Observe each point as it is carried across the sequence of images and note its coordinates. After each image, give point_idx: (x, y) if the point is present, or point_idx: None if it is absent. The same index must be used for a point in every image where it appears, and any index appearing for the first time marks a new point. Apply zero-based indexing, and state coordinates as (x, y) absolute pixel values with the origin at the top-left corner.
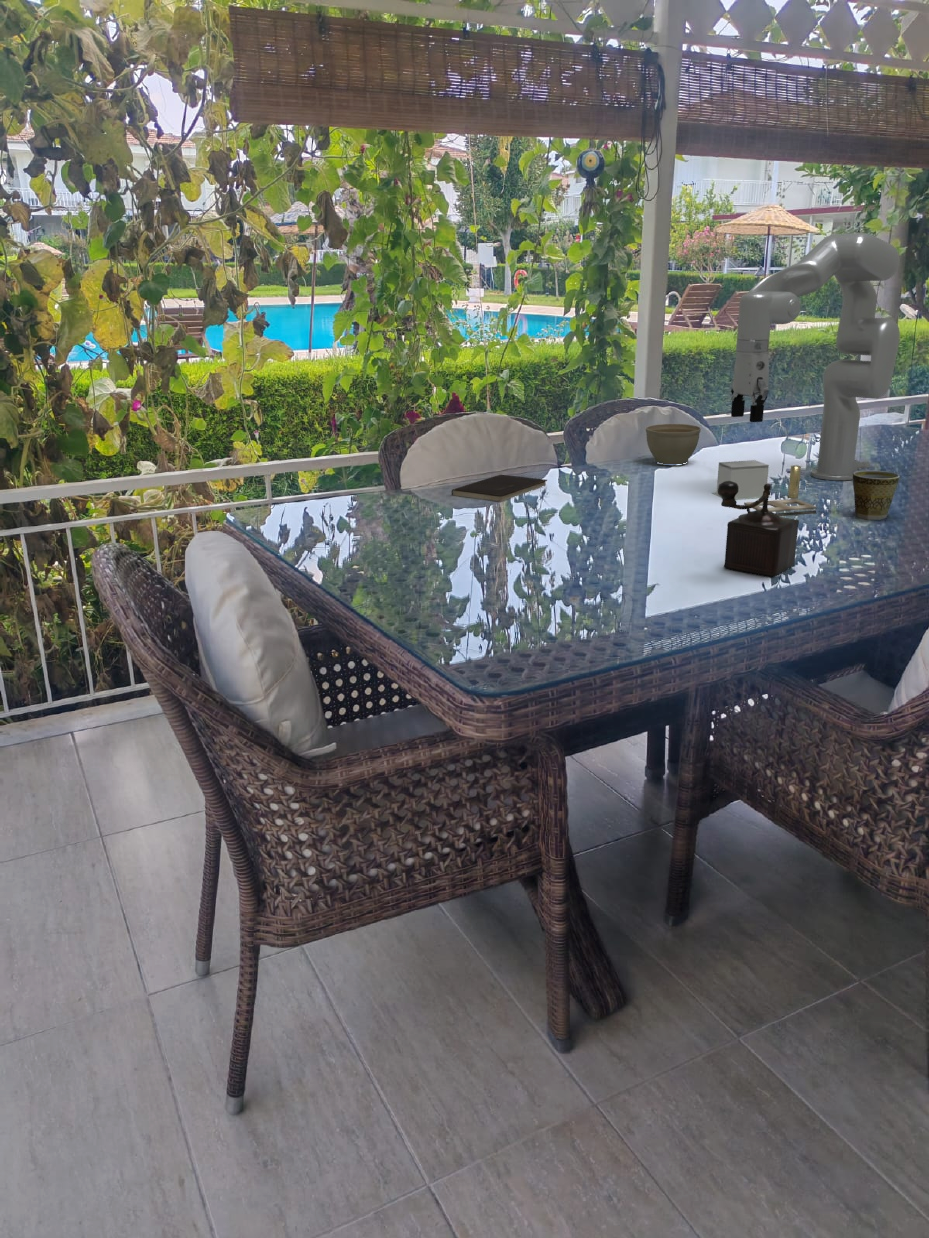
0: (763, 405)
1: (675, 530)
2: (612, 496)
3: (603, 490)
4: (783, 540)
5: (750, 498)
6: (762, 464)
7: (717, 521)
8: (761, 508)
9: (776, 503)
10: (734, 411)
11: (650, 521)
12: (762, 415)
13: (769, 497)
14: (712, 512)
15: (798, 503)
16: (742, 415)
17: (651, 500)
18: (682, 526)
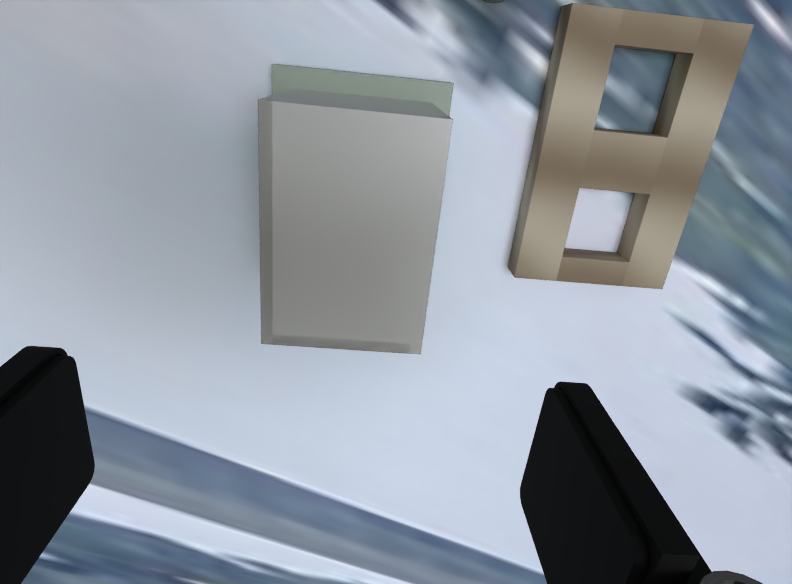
0: (692, 557)
1: None
2: (163, 544)
3: (61, 538)
4: None
5: None
6: (419, 148)
7: None
8: (630, 270)
9: (596, 163)
10: (54, 509)
11: (507, 563)
12: (612, 434)
13: (451, 95)
14: (496, 384)
15: (631, 46)
16: (71, 371)
17: (256, 473)
18: None
